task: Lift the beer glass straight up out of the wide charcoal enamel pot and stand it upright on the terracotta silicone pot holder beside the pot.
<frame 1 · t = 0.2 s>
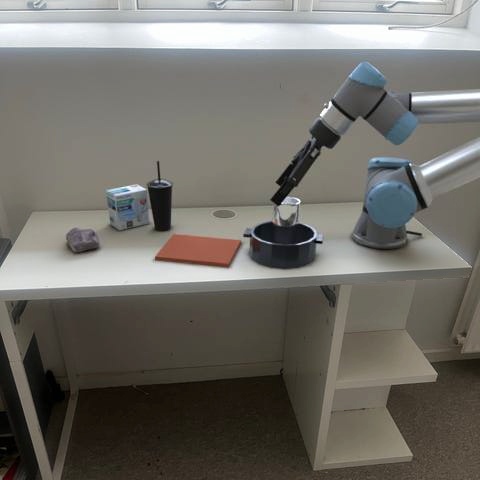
hand: (277, 193, 133), 16 cm above the table, tool tilted 35°, fingers open, 13 cm apart
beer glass: (282, 254, 138), resting in pot
drinking cup: (163, 228, 153), on the table
rock: (83, 246, 141), on the table
pot holder: (199, 251, 139), on the table
light bulb box: (130, 224, 156), on the table
pot: (282, 254, 138), on the table
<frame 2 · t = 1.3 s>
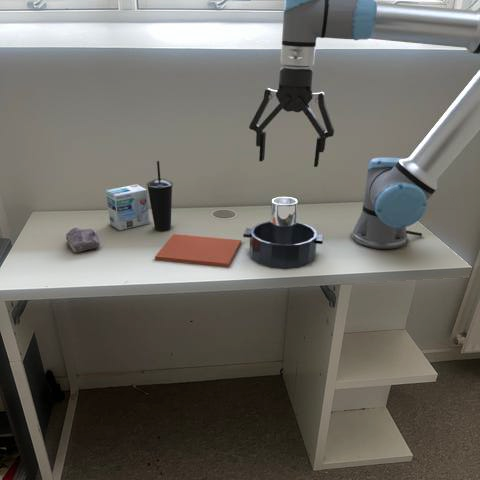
hand: (288, 162, 125), 25 cm above the table, tool pointing down, fingers open, 13 cm apart
nothing on the table moved.
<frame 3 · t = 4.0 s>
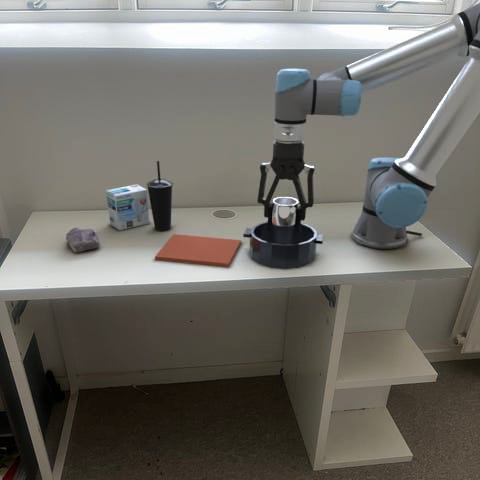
hand: (283, 230, 134), 7 cm above the table, tool pointing down, fingers closed on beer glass, 7 cm apart
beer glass: (282, 255, 138), resting in pot, touching gripper
everything else where it was.
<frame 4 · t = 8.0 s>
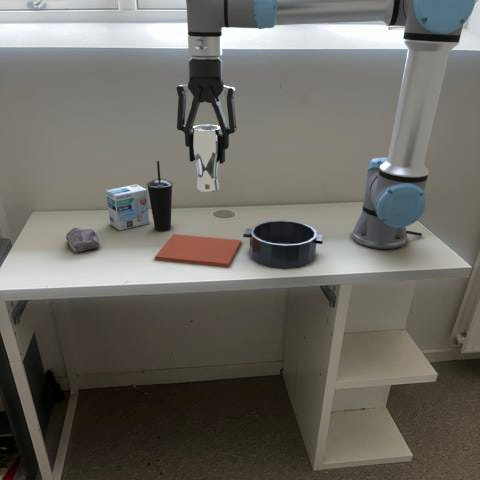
hand: (207, 161, 126), 25 cm above the table, tool pointing down, fingers closed on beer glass, 7 cm apart
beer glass: (207, 189, 130), point 17 cm above the table, touching gripper
everything else where it was.
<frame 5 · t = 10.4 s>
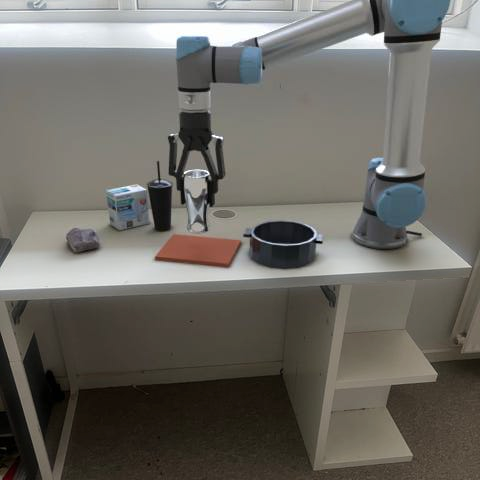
hand: (197, 203, 132), 13 cm above the table, tool pointing down, fingers closed on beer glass, 7 cm apart
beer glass: (198, 229, 136), point 6 cm above the table, touching gripper
everything else where it was.
when the fingers open (8 cm above the table, at t = 12.1 s): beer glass stays where it is, resting on pot holder.
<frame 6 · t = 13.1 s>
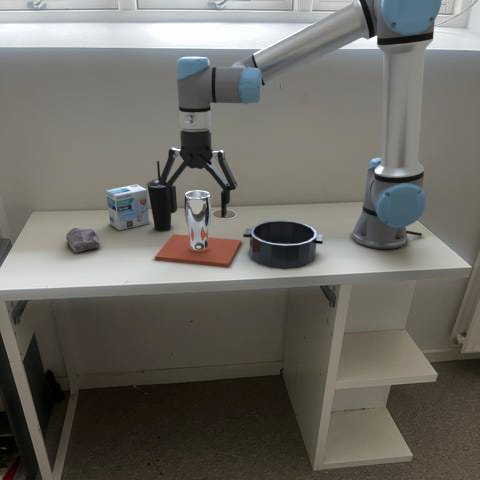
hand: (198, 213, 133), 11 cm above the table, tool pointing down, fingers open, 13 cm apart
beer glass: (199, 248, 139), point 1 cm above the table, touching pot holder
everything else where it was.
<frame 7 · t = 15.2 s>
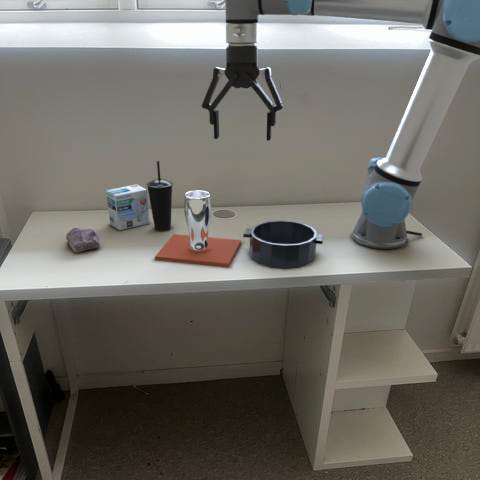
hand: (242, 138, 130), 28 cm above the table, tool pointing down, fingers open, 13 cm apart
nothing on the table moved.
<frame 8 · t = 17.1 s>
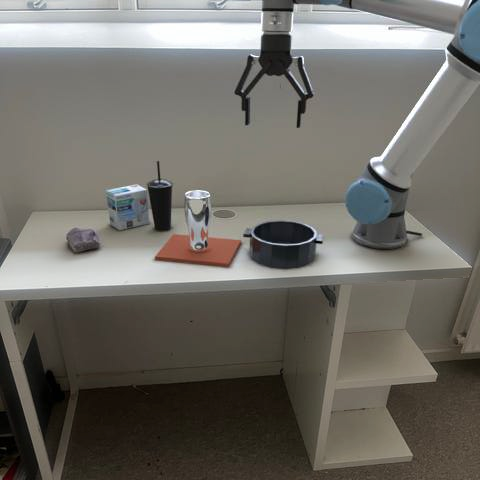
hand: (272, 125, 133), 31 cm above the table, tool pointing down, fingers open, 13 cm apart
nothing on the table moved.
at the end: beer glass inside the target area on the pot holder (0.1 cm from its centre), point 0.8 cm above the pot holder's base; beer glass tilted 0°; the gripper is holding nothing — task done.
